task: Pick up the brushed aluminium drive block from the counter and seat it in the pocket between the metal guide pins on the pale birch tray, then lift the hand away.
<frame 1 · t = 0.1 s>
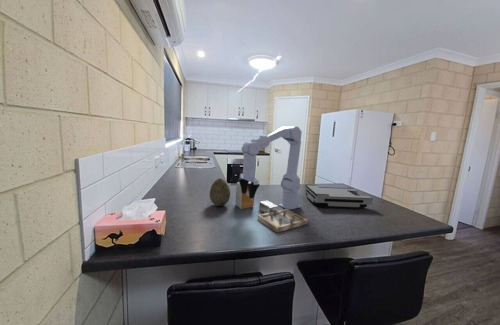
hand: (247, 195, 98), 10 cm above the kitchen counter, tool pointing down, fingers open, 7 cm apart
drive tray: (282, 221, 95), on the kitchen counter
game console: (335, 203, 126), on the kitchen counter
decorative egg: (219, 205, 111), on the kitchen counter
small box: (244, 206, 112), on the kitchen counter
drive: (268, 212, 106), on the kitchen counter
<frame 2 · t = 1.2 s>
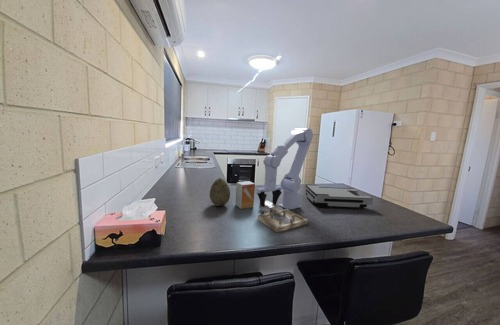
hand: (268, 205, 105), 4 cm above the kitchen counter, tool pointing down, fingers open, 7 cm apart
nothing on the kitchen counter moved.
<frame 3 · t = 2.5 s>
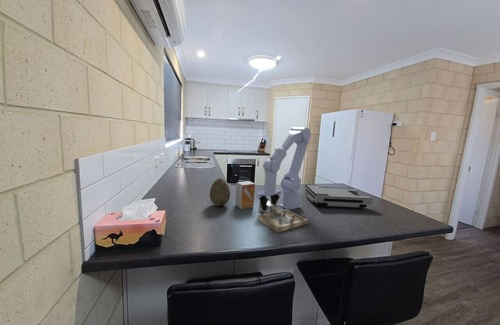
hand: (268, 209, 106), 1 cm above the kitchen counter, tool pointing down, fingers closed on drive, 5 cm apart
drive: (268, 211, 106), on the kitchen counter, touching gripper
everything else where it was.
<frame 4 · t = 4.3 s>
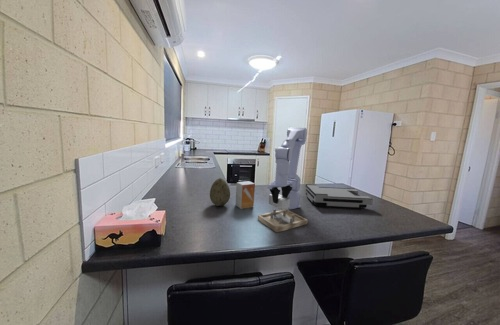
hand: (279, 201, 96), 8 cm above the kitchen counter, tool pointing down, fingers closed on drive, 5 cm apart
drive: (278, 205, 97), point 6 cm above the kitchen counter, touching gripper
everything else where it was.
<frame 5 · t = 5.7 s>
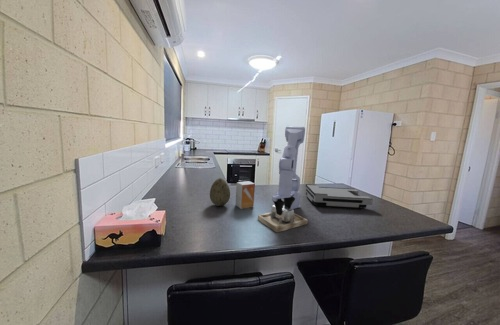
hand: (282, 213, 95), 4 cm above the kitchen counter, tool pointing down, fingers closed on drive, 5 cm apart
drive: (281, 217, 95), point 2 cm above the kitchen counter, touching gripper
everything else where it was.
when the fingers open (4 cm above the kitchen counter, at t = 6.5 s): drive stays where it is, resting on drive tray.
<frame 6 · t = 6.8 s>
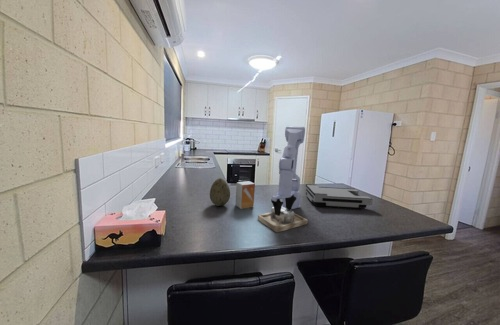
hand: (282, 213, 95), 4 cm above the kitchen counter, tool pointing down, fingers open, 7 cm apart
drive: (281, 218, 95), point 1 cm above the kitchen counter, touching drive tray
everything else where it was.
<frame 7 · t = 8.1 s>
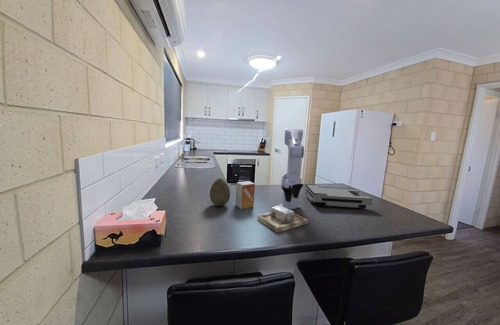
hand: (291, 199, 98), 9 cm above the kitchen counter, tool pointing down, fingers open, 7 cm apart
nothing on the kitchen counter moved.
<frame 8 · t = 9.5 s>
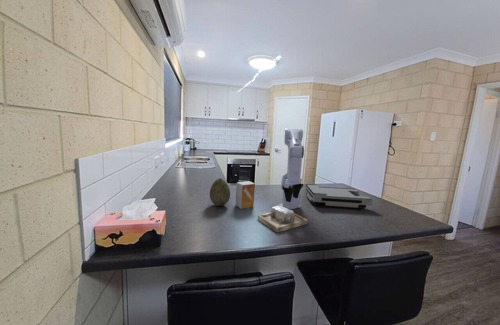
hand: (291, 199, 98), 9 cm above the kitchen counter, tool pointing down, fingers open, 7 cm apart
nothing on the kitchen counter moved.
at the end: drive 0.3 cm off-centre on the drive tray, point 1.3 cm above the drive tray's base; drive tilted 0°; the gripper is holding nothing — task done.
